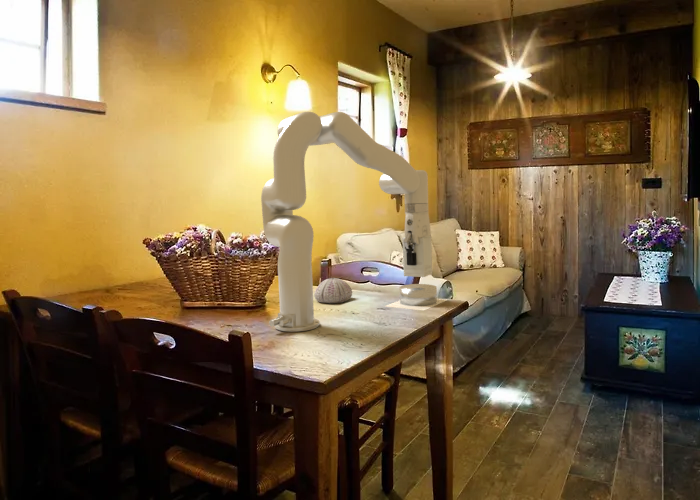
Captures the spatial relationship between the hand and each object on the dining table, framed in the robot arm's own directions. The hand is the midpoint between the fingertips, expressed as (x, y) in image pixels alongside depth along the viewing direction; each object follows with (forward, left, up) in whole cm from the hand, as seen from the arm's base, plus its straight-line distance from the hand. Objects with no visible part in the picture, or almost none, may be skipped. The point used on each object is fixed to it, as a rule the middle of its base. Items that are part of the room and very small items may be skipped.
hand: (417, 263), depth 173 cm
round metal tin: (0, 0, -13) cm, 13 cm away
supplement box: (0, 0, -4) cm, 4 cm away
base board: (-1, 0, -14) cm, 14 cm away
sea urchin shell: (-6, +30, -14) cm, 34 cm away
